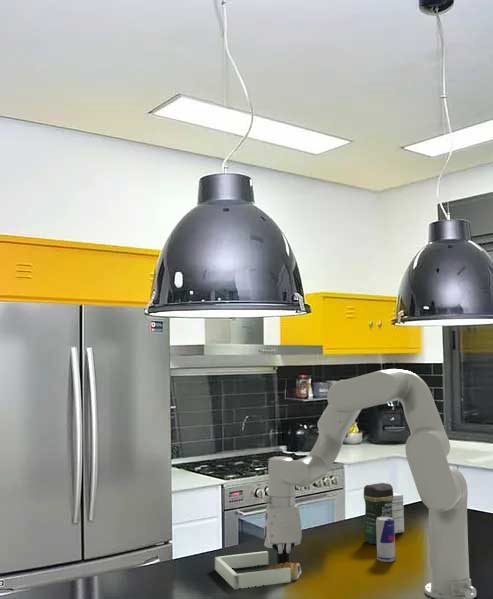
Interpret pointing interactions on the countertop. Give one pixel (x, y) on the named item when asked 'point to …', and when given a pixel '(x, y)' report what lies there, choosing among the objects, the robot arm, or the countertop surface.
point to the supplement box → (398, 512)
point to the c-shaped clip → (251, 578)
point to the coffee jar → (376, 507)
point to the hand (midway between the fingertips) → (283, 566)
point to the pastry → (293, 566)
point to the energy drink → (385, 539)
